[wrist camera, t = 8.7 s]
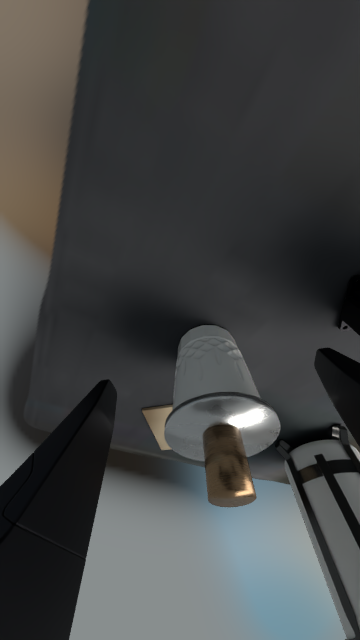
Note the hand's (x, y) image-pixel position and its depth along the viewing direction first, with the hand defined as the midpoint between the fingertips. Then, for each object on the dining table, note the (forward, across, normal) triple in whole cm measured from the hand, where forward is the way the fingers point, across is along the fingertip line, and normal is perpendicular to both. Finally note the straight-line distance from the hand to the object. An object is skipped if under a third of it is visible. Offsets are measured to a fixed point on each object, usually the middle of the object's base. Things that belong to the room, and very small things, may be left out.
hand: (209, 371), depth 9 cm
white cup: (+13, 0, +10) cm, 17 cm away
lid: (+3, 0, +10) cm, 10 cm away
